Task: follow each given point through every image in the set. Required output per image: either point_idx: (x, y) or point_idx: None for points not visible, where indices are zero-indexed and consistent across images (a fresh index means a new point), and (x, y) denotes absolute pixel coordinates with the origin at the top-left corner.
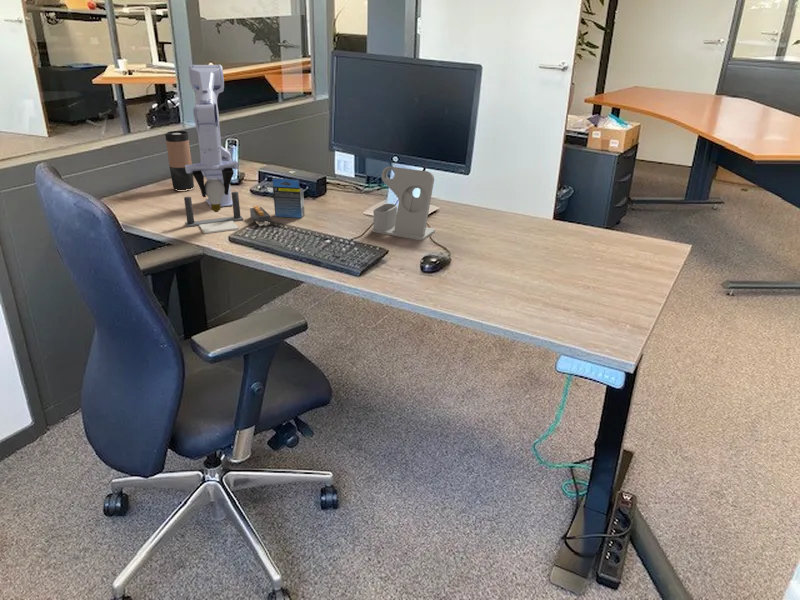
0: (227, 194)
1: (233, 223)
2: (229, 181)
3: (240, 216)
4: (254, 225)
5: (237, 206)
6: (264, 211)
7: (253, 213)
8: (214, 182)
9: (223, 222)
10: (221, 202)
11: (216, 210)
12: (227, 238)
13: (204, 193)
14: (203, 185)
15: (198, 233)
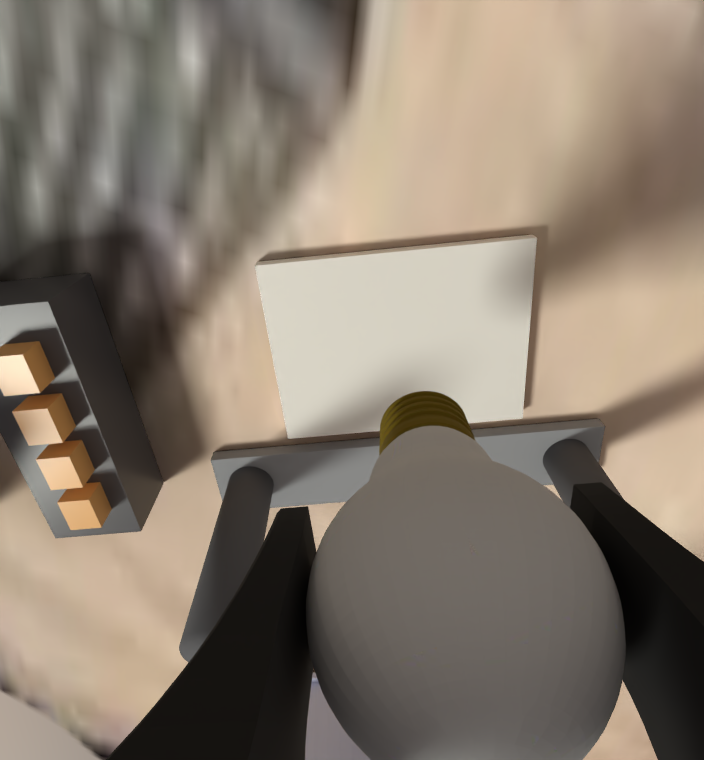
0: (287, 509)
1: (286, 378)
2: (197, 672)
3: (227, 484)
4: (131, 321)
5: (225, 530)
6: (15, 440)
7: (114, 444)
8: (496, 663)
9: (354, 417)
10: (323, 697)
11: (426, 391)
12: (374, 28)
13: (616, 510)
14: (701, 610)
15: (568, 261)
